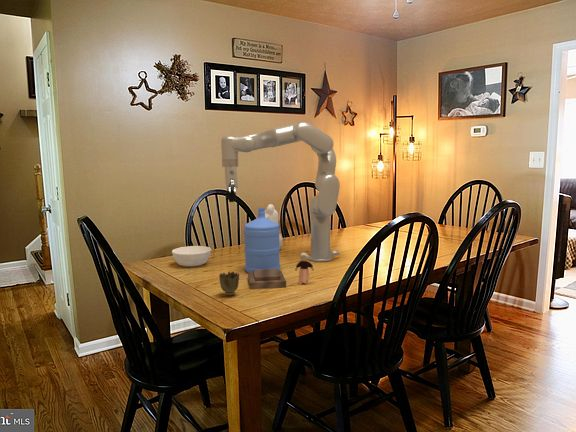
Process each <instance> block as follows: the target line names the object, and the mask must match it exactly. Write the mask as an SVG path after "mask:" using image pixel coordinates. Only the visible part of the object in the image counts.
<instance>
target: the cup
mask: <svg viewBox="0 0 576 432" xmlns="http://www.w3.org/2000/svg"><path fill="white" fill-rule="evenodd" d="M218 277H219V284H220V288H221V290H222V291H223V292H224V294H225V296H226V297H232V296H234V295H235V291H237V289H238V288H239V283H240V282H239V281H240V273H239V272H234V271H232V272H231V271H228V272H227V273H225V272H223V273H220V274H219V275H218Z"/></svg>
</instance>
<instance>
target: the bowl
mask: <svg viewBox="0 0 576 432" xmlns="http://www.w3.org/2000/svg"><path fill="white" fill-rule="evenodd" d="M171 253H172V257H173V259H174V261H175V263H177V264H178V265H179V266H182V267H189V268H191V267H199V266H202V265H204V264H206V263H207V262H208V260H209V258H210V256H212V255H211V254H212V248H211V247H209V246H203V245H190V246H189V245H188V246H181V247H177V248H174V249H172V250H171Z"/></svg>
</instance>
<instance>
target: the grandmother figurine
mask: <svg viewBox="0 0 576 432" xmlns="http://www.w3.org/2000/svg"><path fill="white" fill-rule="evenodd" d="M308 256H309V255H308V253H306V252H301V254H300V260H301V261H298V263H297V264H296V265H295V268H294V271H295V272H297V271H298V269H299V272H298V282H297V285H309V284H310V283H309V277H310V276H309V274H310V273H309V272H310V271H309V268H310V269H311V271H313V272H314V271H315V268H314V265H313V264H312V263H311V262H310V261H308V260H309V259H308Z"/></svg>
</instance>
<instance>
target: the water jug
mask: <svg viewBox="0 0 576 432" xmlns="http://www.w3.org/2000/svg"><path fill="white" fill-rule="evenodd" d="M265 210H266V208H265V207H259V208H257V217H256V218H255V219H254V220H251V221H249V222H247V223H245V224H244V229H243V232H244V233H243V234H244V260H245V261H244V265H245V266H244V270H245V272H247V273H248V272H253V270H260V269H277V270H278V271H281V264H280V263H281V261H280V252H281V250H280V246H279V233H280V234H281V230H280V224H279V222H278V223H276V222H273V221H271V220H269V219H267V218H266V217H265Z"/></svg>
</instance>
